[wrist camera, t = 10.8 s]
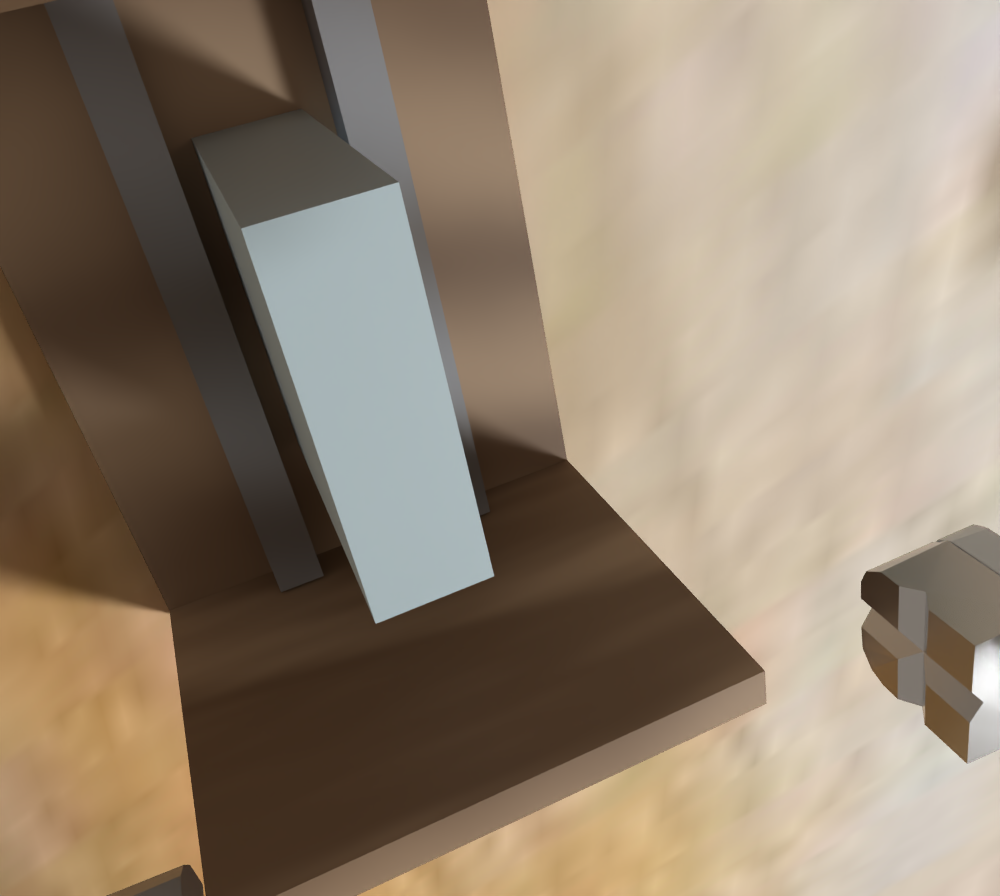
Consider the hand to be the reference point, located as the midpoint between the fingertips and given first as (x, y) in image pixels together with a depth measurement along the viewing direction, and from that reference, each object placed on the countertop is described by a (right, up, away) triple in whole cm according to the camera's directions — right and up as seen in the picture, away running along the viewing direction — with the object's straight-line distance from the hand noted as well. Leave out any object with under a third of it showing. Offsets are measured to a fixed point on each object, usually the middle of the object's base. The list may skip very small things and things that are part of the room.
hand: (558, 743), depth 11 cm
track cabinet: (-6, +8, +13) cm, 16 cm away
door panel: (-6, +7, +12) cm, 15 cm away
